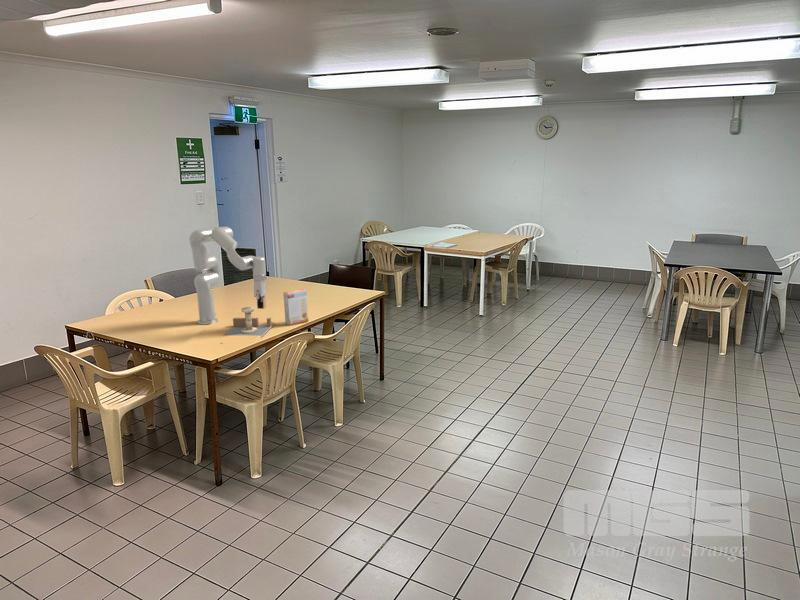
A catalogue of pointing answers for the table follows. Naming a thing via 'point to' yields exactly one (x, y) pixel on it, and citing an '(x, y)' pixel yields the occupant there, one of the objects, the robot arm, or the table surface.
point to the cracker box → (295, 307)
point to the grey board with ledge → (241, 323)
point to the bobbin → (248, 320)
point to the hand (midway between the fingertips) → (261, 306)
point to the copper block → (263, 303)
